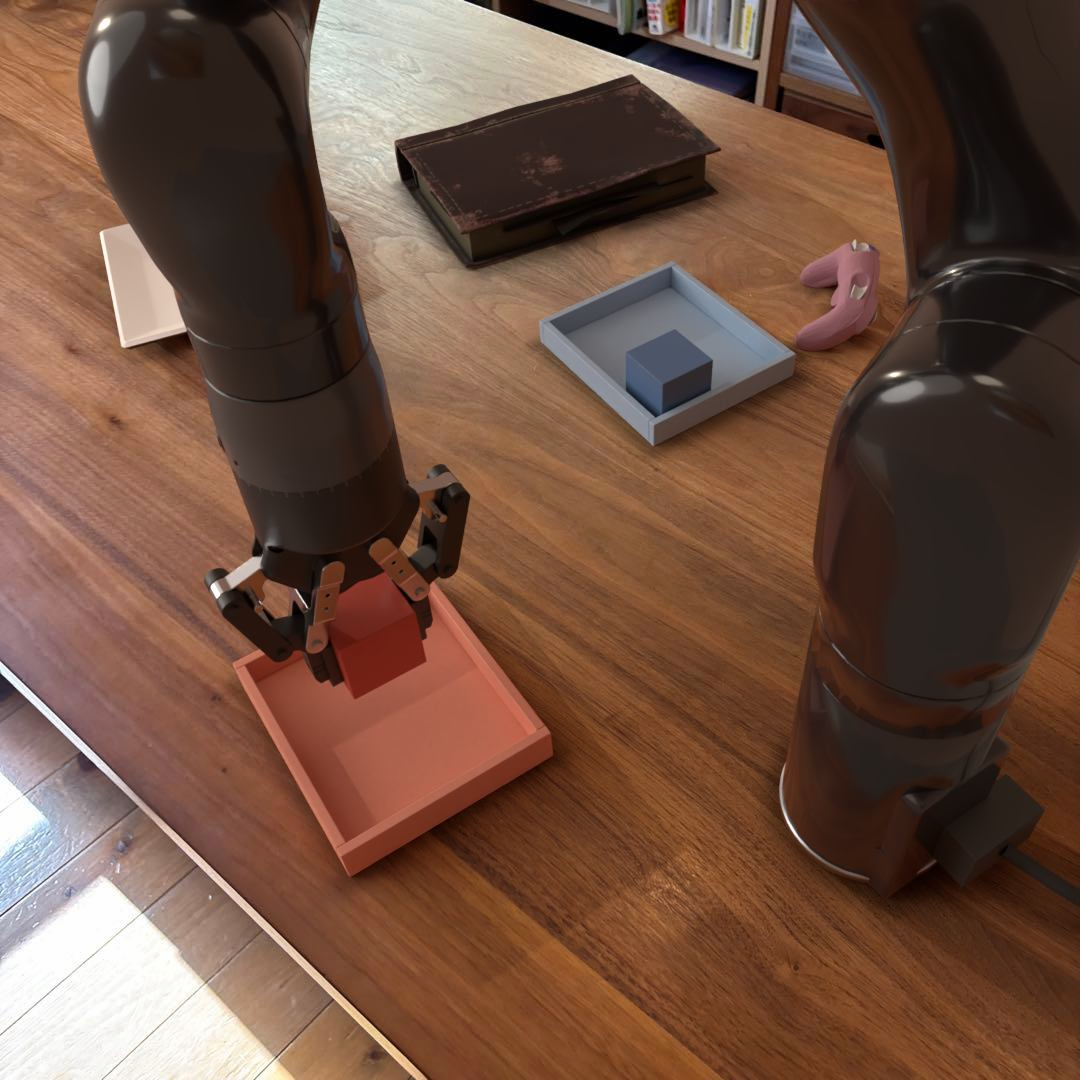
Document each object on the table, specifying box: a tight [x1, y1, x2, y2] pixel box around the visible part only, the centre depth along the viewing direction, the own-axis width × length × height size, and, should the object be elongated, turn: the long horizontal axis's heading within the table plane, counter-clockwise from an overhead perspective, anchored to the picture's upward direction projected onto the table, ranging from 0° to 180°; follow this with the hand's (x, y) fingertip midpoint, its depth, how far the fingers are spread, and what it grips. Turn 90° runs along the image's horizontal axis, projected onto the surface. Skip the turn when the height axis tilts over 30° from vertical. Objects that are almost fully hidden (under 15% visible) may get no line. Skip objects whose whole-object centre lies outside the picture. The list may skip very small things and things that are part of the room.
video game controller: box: [794, 239, 881, 352], centre depth 87 cm, size 10×5×7 cm, turn 168°
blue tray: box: [538, 260, 797, 447], centre depth 86 cm, size 15×13×2 cm
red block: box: [328, 572, 427, 699], centre depth 61 cm, size 4×4×4 cm
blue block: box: [626, 329, 713, 418], centre depth 81 cm, size 4×4×4 cm
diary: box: [393, 73, 722, 269], centre depth 103 cm, size 19×25×5 cm
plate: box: [99, 223, 188, 350], centre depth 98 cm, size 19×19×2 cm
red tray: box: [232, 580, 554, 878], centre depth 66 cm, size 15×13×2 cm
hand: (373, 651), depth 62 cm, fingers closed on red block, 4 cm apart
